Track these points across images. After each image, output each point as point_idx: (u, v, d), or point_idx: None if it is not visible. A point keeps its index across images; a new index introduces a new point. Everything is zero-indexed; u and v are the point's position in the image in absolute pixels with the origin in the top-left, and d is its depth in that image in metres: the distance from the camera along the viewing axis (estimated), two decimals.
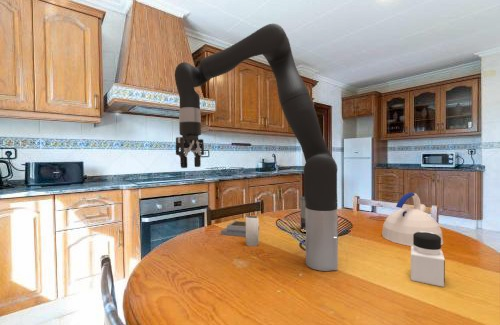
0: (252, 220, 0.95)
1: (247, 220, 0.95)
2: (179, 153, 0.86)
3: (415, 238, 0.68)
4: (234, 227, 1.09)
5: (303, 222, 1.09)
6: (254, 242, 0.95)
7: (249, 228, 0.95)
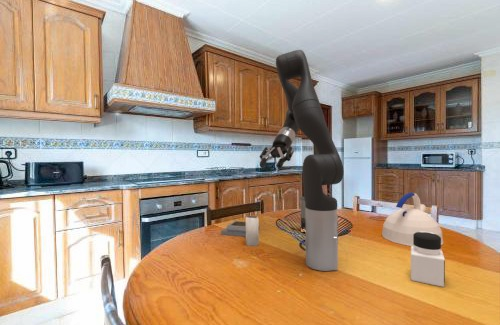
0: (252, 220, 0.95)
1: (247, 220, 0.95)
2: None
3: (415, 238, 0.68)
4: (234, 227, 1.09)
5: (303, 222, 1.10)
6: (254, 242, 0.95)
7: (249, 228, 0.95)
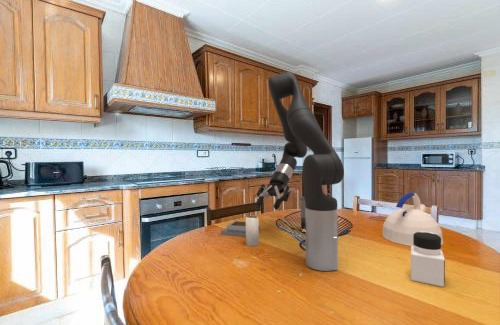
0: (252, 220, 0.95)
1: (247, 220, 0.95)
2: None
3: (415, 238, 0.68)
4: (234, 227, 1.09)
5: (303, 222, 1.10)
6: (254, 242, 0.95)
7: (249, 228, 0.95)
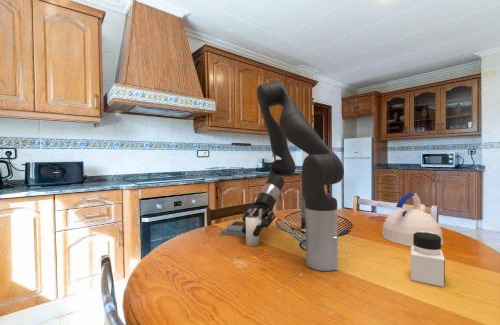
0: (252, 220, 0.95)
1: (247, 220, 0.95)
2: None
3: (415, 238, 0.68)
4: (234, 227, 1.09)
5: (303, 222, 1.10)
6: (254, 242, 0.95)
7: (249, 228, 0.95)
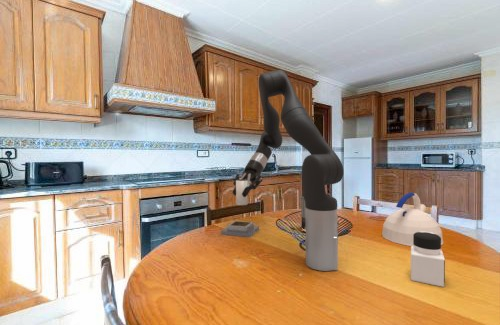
0: (241, 182, 1.07)
1: (237, 182, 1.08)
2: None
3: (415, 238, 0.68)
4: (234, 227, 1.09)
5: (304, 222, 1.10)
6: (243, 202, 1.08)
7: (239, 189, 1.07)
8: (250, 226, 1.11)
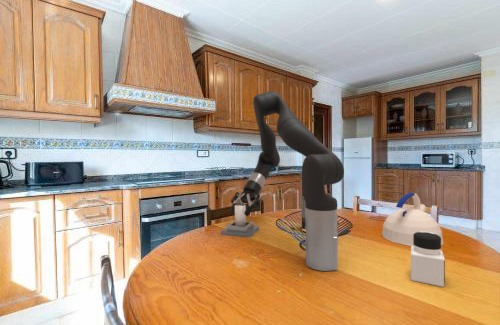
0: (240, 207, 1.10)
1: (236, 207, 1.11)
2: None
3: (415, 238, 0.68)
4: (234, 227, 1.09)
5: (304, 221, 1.10)
6: None
7: (237, 214, 1.11)
8: (250, 226, 1.11)
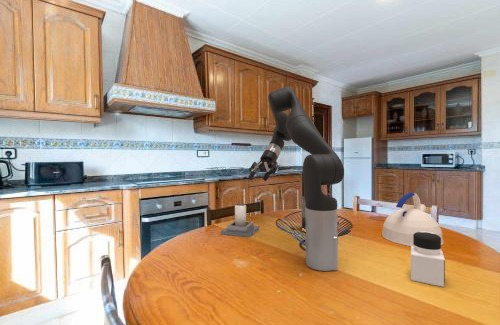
0: (240, 207, 1.10)
1: (236, 207, 1.11)
2: None
3: (415, 238, 0.68)
4: (234, 227, 1.09)
5: (304, 221, 1.11)
6: None
7: (237, 214, 1.11)
8: (250, 226, 1.11)
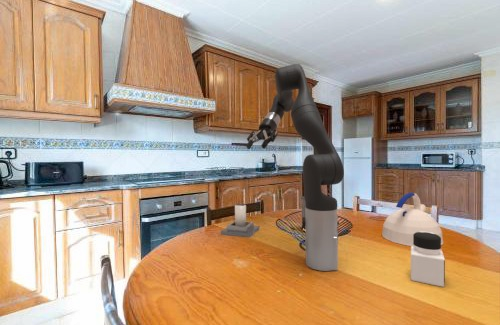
0: (240, 207, 1.10)
1: (236, 207, 1.11)
2: None
3: (415, 238, 0.68)
4: (234, 227, 1.09)
5: (304, 221, 1.11)
6: None
7: (237, 214, 1.11)
8: (250, 226, 1.11)
